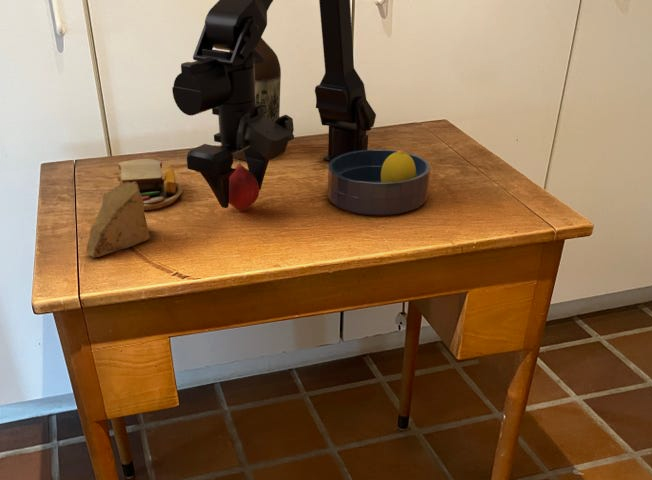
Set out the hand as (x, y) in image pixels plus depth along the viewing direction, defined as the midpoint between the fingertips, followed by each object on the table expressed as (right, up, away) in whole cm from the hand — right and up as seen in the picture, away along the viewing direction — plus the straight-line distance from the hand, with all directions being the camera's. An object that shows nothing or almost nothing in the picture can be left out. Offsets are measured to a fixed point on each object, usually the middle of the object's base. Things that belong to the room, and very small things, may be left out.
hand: (241, 198), depth 118 cm
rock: (-18, -9, -8) cm, 22 cm away
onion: (0, -2, +1) cm, 2 cm away
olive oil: (+2, +14, +25) cm, 28 cm away
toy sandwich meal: (-17, +2, +8) cm, 19 cm away
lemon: (+25, 0, +2) cm, 25 cm away
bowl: (+22, +1, +4) cm, 23 cm away
